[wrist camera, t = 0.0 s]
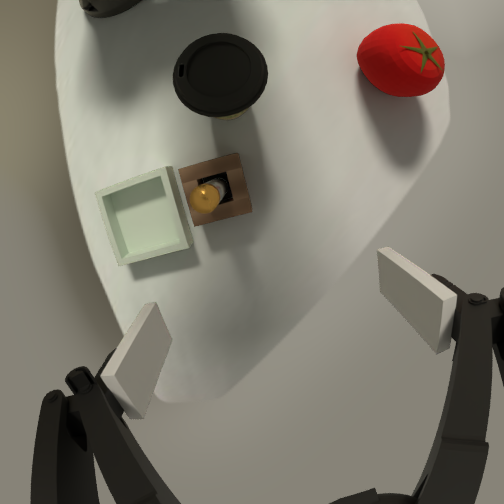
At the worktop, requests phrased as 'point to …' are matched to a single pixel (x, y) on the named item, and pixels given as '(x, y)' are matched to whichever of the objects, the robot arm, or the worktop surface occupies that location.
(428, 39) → the tomato
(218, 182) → the pin
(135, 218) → the tray
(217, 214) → the socket block
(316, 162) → the worktop surface
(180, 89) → the coffee cup
